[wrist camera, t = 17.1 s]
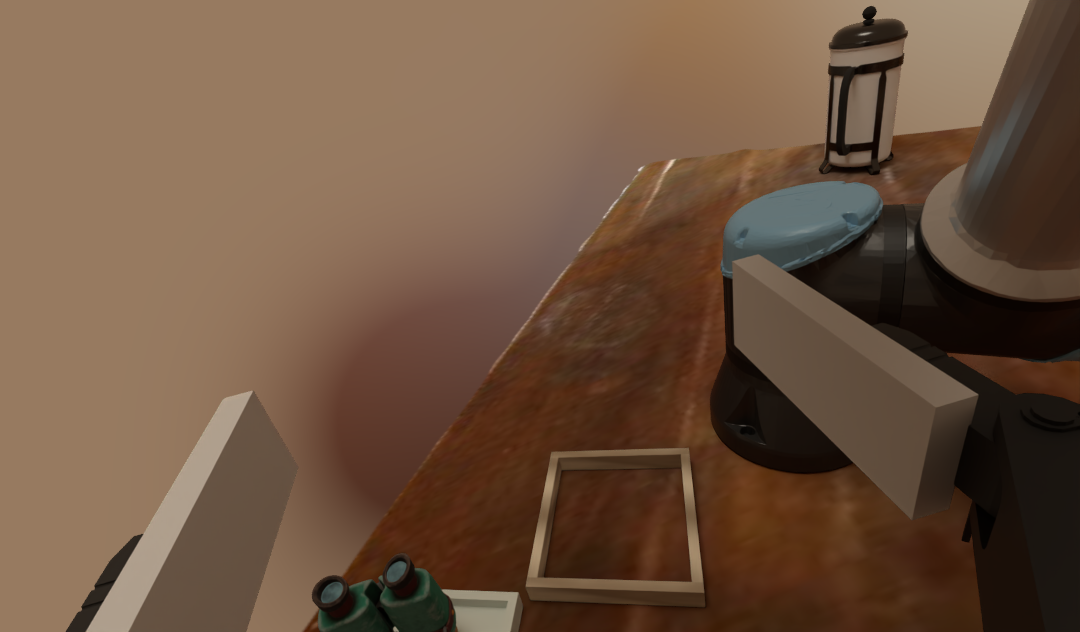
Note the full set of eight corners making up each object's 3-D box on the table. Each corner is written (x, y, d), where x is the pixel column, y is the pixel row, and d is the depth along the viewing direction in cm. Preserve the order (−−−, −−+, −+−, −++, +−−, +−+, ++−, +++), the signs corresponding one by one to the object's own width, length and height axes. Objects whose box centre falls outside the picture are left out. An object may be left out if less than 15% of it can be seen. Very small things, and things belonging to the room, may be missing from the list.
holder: (554, 464, 55) (551, 451, 54) (689, 461, 52) (688, 448, 51) (530, 600, 42) (525, 586, 42) (705, 607, 39) (704, 592, 38)
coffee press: (799, 165, 119) (805, 16, 105) (874, 151, 117) (891, -2, 103) (834, 187, 104) (846, 16, 90) (920, 171, 102) (947, -5, 88)
